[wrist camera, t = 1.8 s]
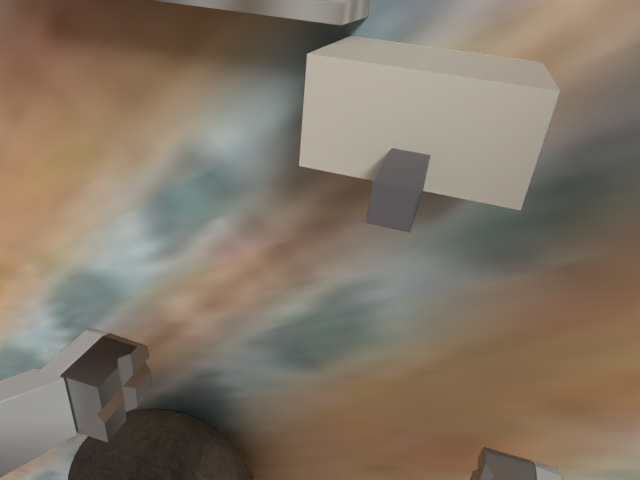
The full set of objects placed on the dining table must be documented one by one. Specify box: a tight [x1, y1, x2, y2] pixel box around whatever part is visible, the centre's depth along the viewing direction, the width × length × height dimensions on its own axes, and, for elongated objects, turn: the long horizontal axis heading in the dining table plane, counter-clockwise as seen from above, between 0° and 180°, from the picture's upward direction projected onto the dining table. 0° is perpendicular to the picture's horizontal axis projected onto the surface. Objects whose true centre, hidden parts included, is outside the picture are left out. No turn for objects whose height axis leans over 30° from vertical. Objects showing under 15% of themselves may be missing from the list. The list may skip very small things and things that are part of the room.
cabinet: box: [299, 36, 560, 232], centre depth 26 cm, size 12×6×14 cm, turn 84°
